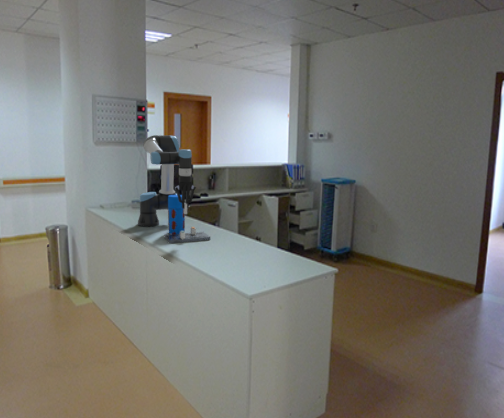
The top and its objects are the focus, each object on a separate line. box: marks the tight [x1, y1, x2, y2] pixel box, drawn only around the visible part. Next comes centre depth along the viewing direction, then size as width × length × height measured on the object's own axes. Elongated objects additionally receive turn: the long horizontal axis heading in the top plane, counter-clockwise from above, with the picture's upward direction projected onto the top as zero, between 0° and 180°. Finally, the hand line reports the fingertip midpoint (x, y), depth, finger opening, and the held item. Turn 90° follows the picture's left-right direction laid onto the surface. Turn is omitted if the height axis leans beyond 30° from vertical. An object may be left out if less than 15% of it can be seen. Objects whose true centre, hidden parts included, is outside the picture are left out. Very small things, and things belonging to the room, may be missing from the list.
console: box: [163, 231, 211, 244], centre depth 254 cm, size 15×26×2 cm, turn 115°
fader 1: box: [180, 231, 186, 239], centre depth 248 cm, size 4×2×4 cm, turn 25°
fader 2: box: [190, 226, 197, 234], centre depth 259 cm, size 4×2×4 cm, turn 25°
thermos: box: [167, 194, 186, 235], centre depth 269 cm, size 11×11×25 cm
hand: (185, 213), depth 246 cm, fingers closed
